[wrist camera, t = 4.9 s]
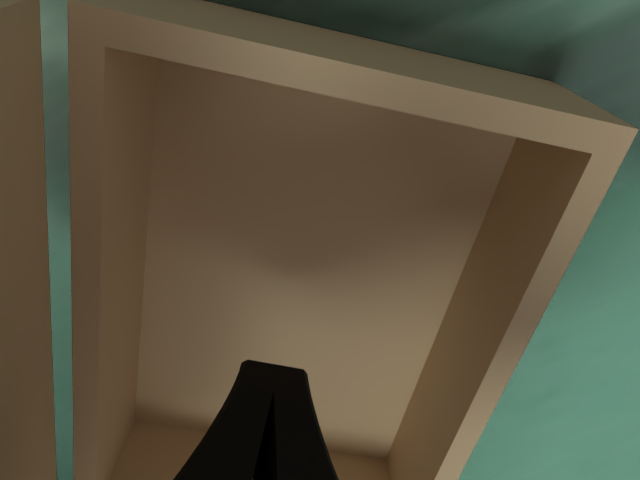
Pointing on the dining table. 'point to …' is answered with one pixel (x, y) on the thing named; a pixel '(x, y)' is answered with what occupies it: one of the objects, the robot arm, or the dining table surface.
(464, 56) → the dining table surface
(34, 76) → the lid
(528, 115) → the box
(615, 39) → the dining table surface
